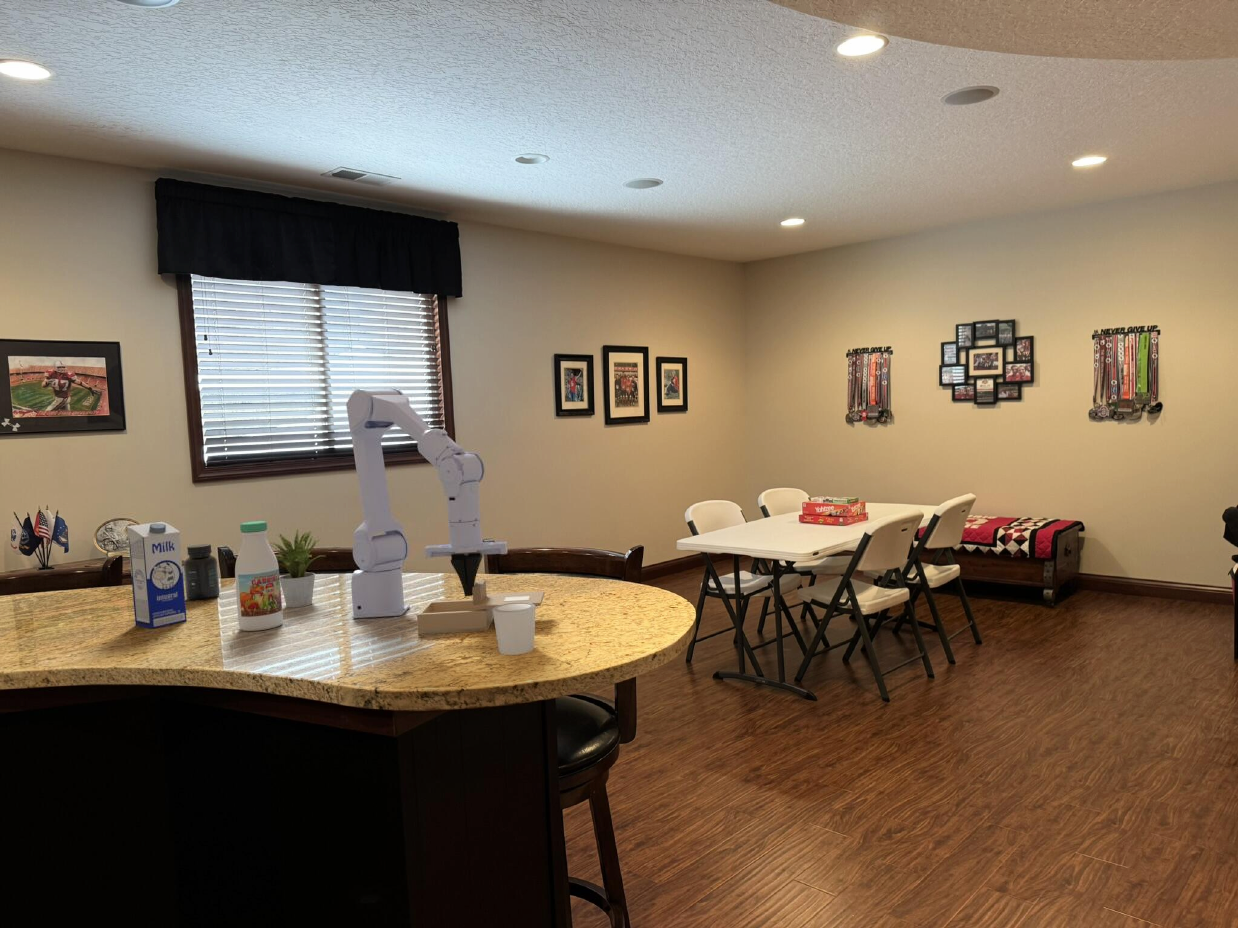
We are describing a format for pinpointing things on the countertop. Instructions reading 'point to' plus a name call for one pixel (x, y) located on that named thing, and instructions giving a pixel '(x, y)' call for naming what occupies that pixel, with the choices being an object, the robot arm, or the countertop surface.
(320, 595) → the countertop surface
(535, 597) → the lid
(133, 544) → the milk carton
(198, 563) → the supplement bottle
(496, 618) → the white cup
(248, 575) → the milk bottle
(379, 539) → the robot arm
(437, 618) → the mailer
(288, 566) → the house plant
